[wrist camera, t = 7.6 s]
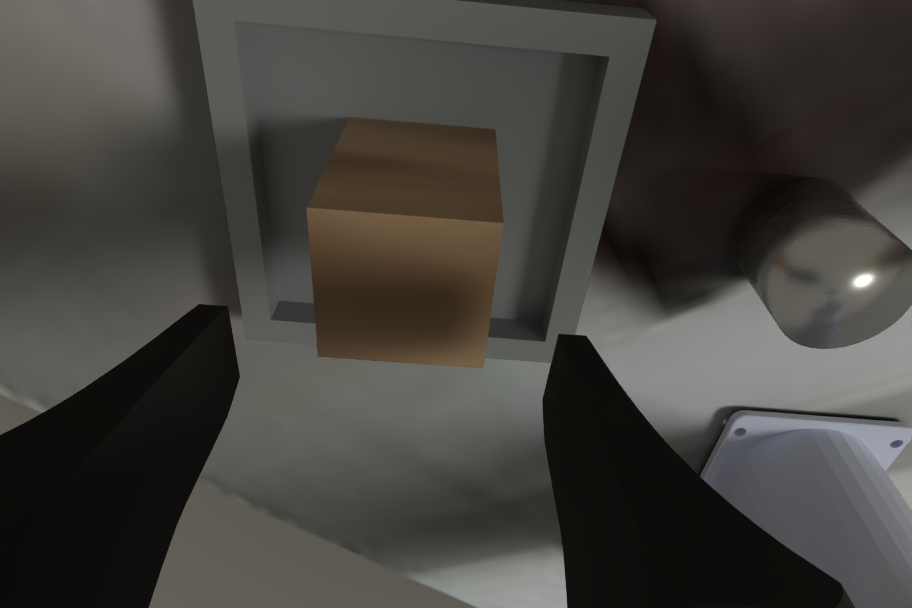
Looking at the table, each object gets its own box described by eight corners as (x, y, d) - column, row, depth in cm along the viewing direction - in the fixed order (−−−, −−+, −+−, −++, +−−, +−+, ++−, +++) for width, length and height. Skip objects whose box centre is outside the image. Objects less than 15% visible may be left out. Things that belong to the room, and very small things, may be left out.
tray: (561, 337, 24) (567, 364, 23) (258, 312, 24) (246, 339, 22) (642, 8, 17) (656, 20, 16) (210, -35, 16) (188, -27, 15)
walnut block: (480, 253, 21) (483, 368, 16) (352, 243, 21) (317, 356, 16) (495, 129, 19) (503, 223, 14) (349, 117, 18) (306, 207, 14)
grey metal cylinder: (820, 282, 22) (879, 353, 19) (714, 273, 22) (755, 343, 19) (874, 182, 20) (951, 244, 17) (755, 172, 20) (810, 232, 17)
